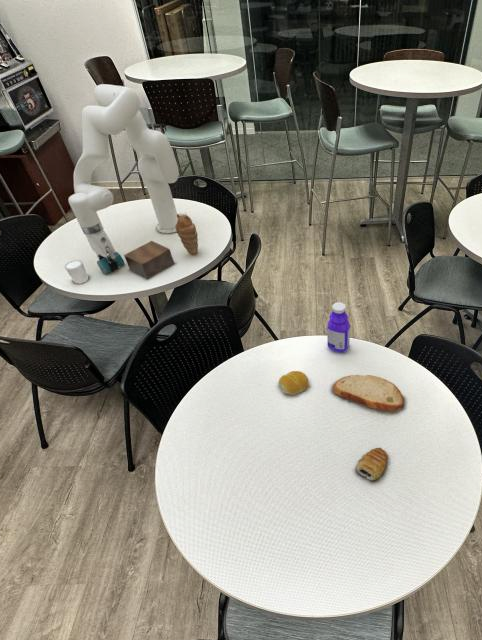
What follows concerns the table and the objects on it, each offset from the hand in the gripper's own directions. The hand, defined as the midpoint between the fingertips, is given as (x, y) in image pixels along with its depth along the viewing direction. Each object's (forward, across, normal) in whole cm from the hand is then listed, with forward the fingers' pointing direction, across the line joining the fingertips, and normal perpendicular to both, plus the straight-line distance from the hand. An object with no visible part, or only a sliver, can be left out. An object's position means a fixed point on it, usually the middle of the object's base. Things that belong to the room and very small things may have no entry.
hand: (110, 267), depth 177 cm
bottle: (+1, -106, -16) cm, 107 cm away
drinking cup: (+1, 0, -1) cm, 1 cm away
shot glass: (+1, +4, +12) cm, 13 cm away
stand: (+1, -12, -11) cm, 17 cm away
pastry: (+1, -140, +16) cm, 140 cm away
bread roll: (+1, -104, +6) cm, 105 cm away
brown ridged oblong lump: (+2, -20, -28) cm, 34 cm away
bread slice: (+1, -126, -4) cm, 126 cm away
